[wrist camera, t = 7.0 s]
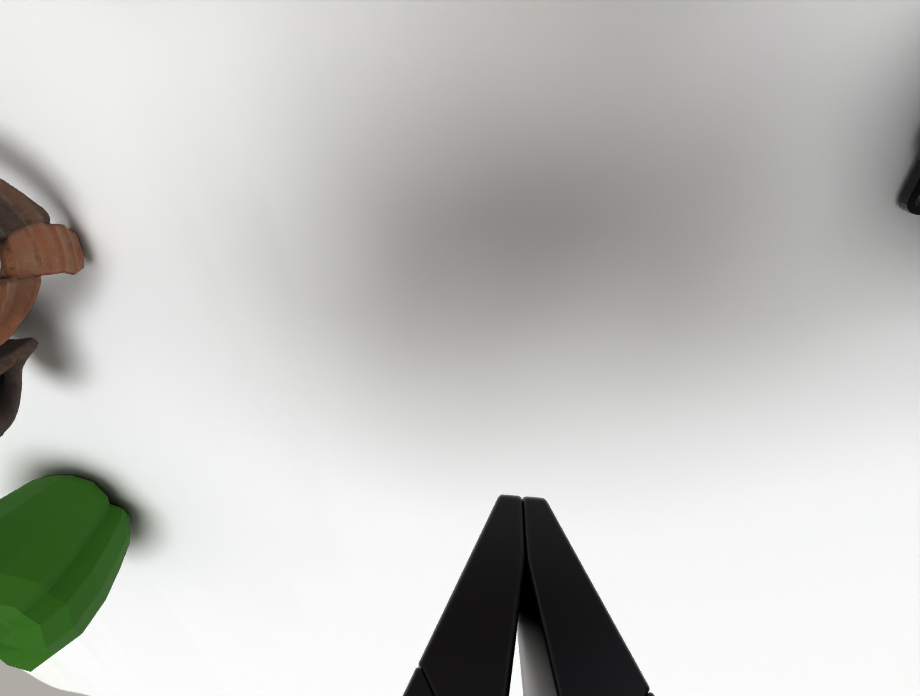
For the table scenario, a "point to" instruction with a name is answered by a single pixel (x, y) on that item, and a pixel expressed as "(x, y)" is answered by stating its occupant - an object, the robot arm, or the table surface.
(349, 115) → the table surface
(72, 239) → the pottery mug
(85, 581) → the bell pepper
